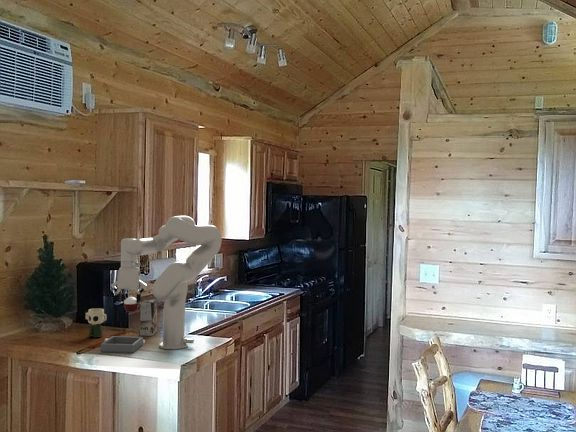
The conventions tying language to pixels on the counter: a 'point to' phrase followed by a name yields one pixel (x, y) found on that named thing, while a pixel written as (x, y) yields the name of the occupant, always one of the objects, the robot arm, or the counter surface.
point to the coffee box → (148, 318)
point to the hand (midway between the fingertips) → (128, 302)
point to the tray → (122, 344)
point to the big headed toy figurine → (96, 321)
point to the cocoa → (130, 303)
